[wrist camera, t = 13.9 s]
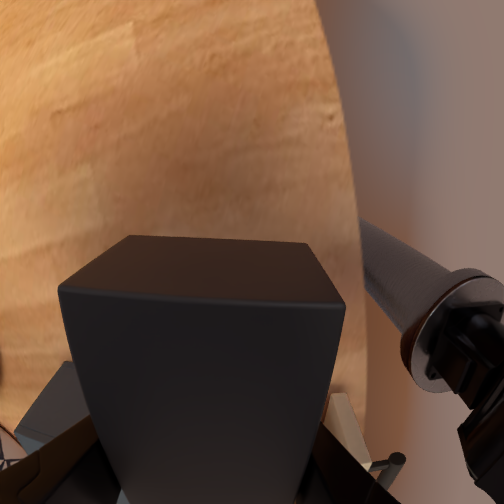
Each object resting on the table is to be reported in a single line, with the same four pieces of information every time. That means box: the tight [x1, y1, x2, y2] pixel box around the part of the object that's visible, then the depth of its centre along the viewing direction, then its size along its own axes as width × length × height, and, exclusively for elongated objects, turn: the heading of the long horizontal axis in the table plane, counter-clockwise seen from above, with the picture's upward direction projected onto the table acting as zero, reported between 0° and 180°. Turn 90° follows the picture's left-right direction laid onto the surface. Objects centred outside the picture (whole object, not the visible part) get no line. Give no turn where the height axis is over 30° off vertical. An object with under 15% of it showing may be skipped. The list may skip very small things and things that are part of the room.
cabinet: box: [14, 361, 129, 504], centre depth 19 cm, size 14×15×9 cm
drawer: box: [294, 393, 406, 504], centre depth 19 cm, size 17×13×7 cm
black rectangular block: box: [58, 235, 346, 504], centre depth 7 cm, size 4×10×4 cm, turn 177°
